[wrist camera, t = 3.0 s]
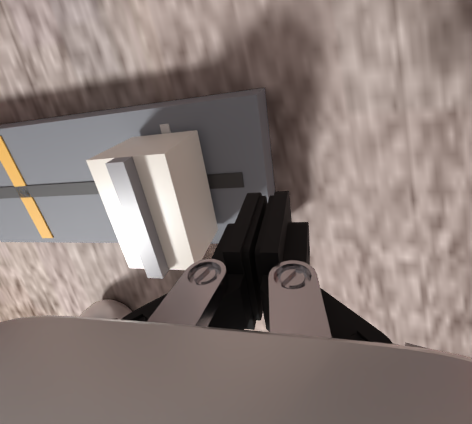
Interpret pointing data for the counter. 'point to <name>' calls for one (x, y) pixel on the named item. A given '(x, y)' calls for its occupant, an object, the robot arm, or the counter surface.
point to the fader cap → (157, 200)
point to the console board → (111, 134)
